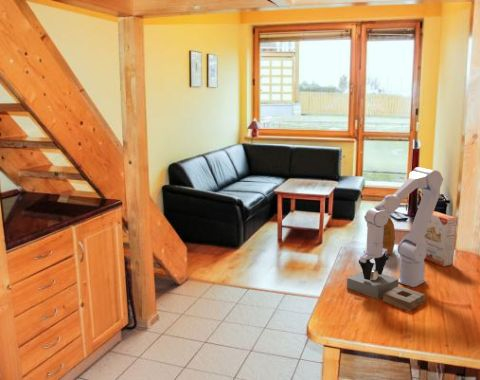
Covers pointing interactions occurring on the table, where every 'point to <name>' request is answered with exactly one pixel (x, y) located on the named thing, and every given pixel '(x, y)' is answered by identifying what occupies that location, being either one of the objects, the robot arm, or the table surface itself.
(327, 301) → the table surface
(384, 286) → the grey square hole plate
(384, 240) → the coffee package
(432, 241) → the cracker box
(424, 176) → the robot arm
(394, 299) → the socket block
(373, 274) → the metal peg
